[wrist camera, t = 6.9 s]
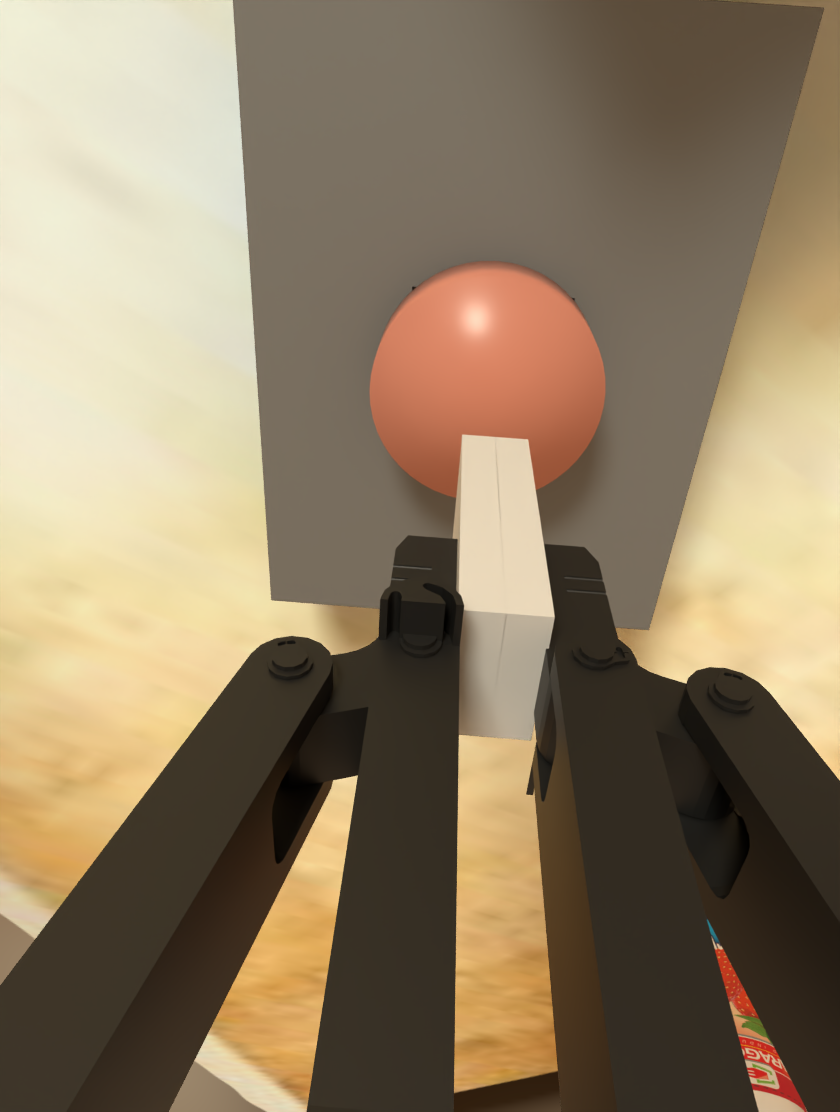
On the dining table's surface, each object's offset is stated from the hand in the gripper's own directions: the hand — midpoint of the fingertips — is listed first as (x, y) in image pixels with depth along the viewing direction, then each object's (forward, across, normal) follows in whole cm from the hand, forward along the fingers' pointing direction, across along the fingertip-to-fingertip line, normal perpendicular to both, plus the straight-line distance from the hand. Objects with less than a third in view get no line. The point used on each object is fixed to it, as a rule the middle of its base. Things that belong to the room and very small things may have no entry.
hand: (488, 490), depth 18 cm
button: (+14, 0, 0) cm, 14 cm away
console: (+14, 0, 0) cm, 14 cm away
